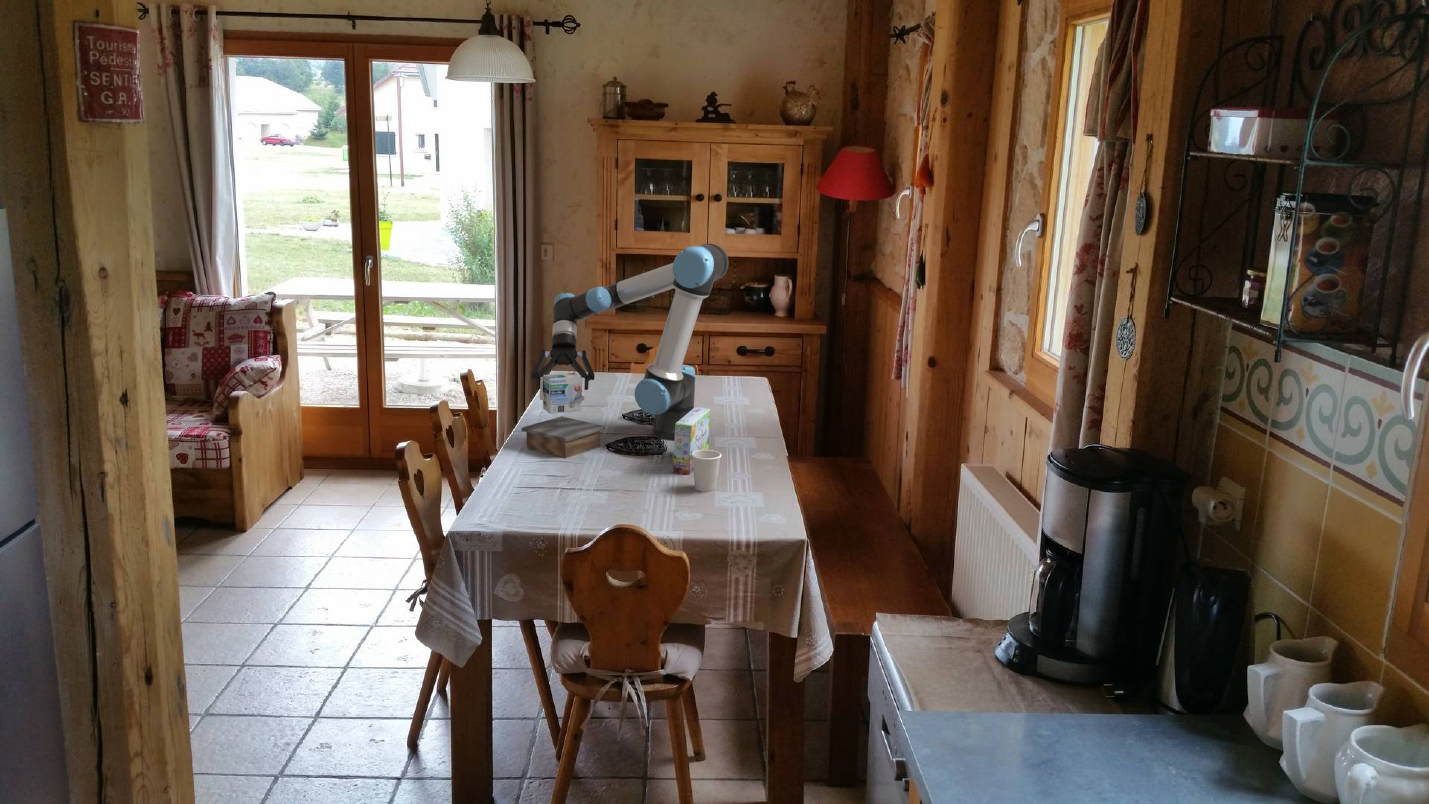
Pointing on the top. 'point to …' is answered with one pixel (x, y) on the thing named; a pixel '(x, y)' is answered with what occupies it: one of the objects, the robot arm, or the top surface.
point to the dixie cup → (705, 469)
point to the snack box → (690, 438)
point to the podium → (563, 436)
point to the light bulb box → (562, 393)
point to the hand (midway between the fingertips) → (562, 398)
